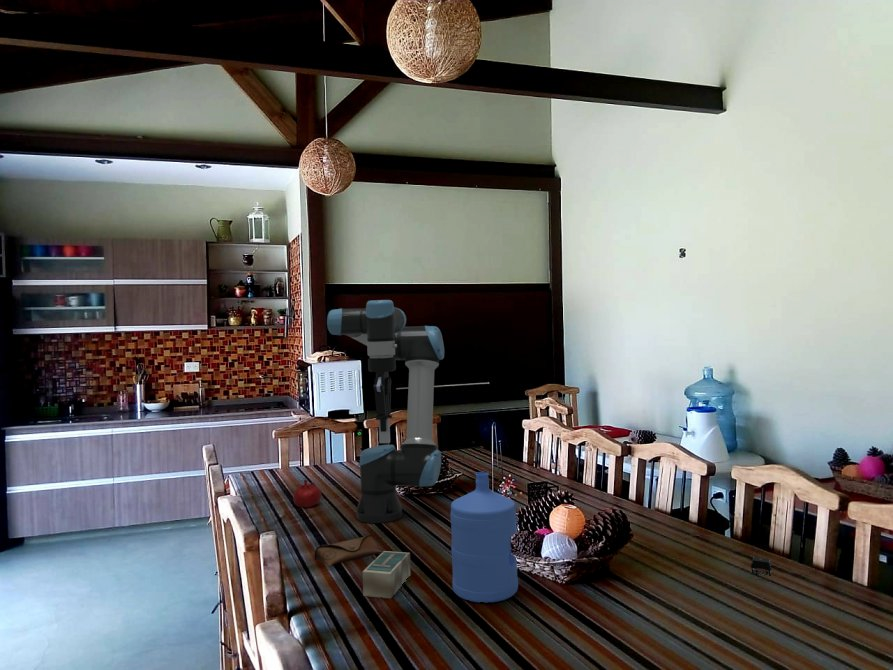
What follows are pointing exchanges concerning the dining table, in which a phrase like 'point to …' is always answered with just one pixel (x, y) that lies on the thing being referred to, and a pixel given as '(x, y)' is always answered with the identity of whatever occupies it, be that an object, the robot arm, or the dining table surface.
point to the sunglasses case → (347, 550)
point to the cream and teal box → (386, 574)
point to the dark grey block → (761, 566)
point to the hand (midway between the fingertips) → (384, 442)
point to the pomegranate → (307, 495)
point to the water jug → (483, 544)
